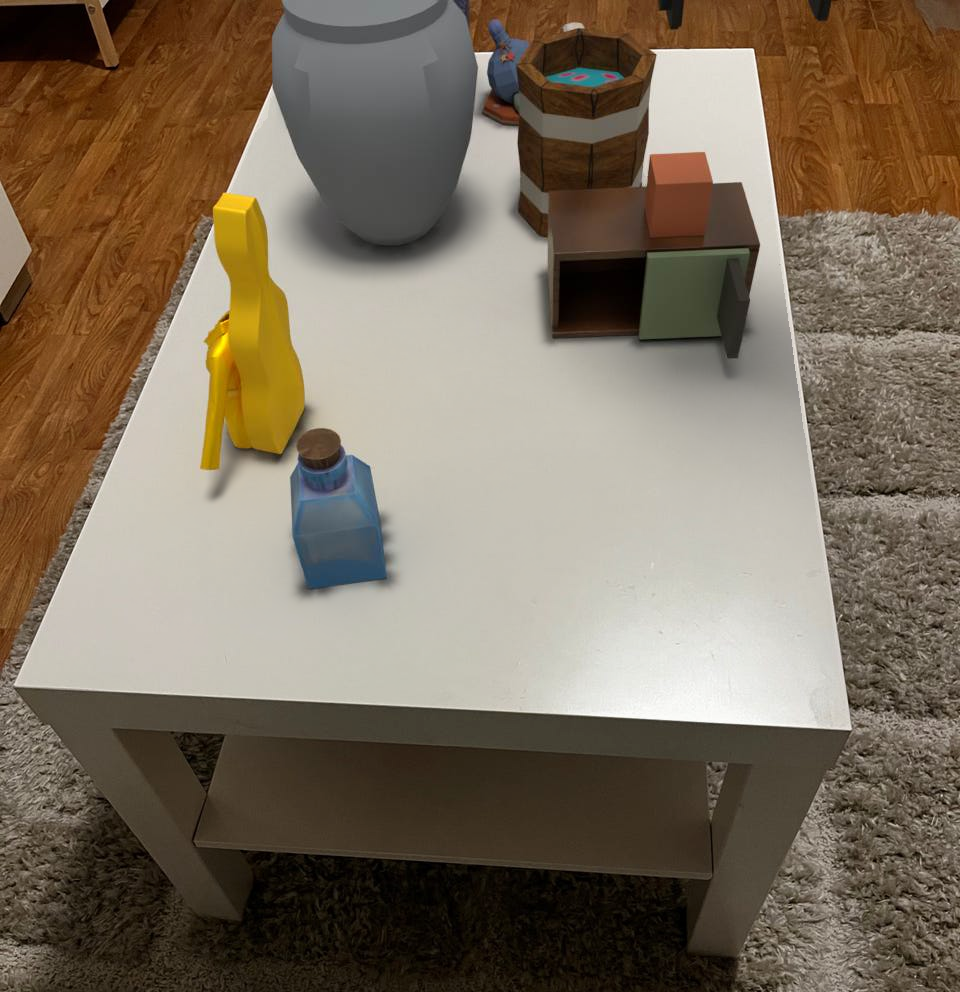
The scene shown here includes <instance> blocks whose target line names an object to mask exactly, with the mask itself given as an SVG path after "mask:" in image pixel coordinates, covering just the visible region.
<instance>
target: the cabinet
mask: <svg viewBox="0 0 960 992" xmlns="http://www.w3.org/2000/svg"><path fill="white" fill-rule="evenodd" d="M646 188H647V186H642V187H625V188H604V189H582V190H561V191H549V192H548V237H547V259H546V260H547V261H546V262H547V263H546V264H547V268H546V269H547V271H546V278H547V288H548V290H547V291H548V301H549V303H548V304H549V315H550V325H551V337H552V339H561V338H562V339H566V338H567V339H568V338H585V337H586V338H588V337H612V336H635V335H637V336H639V325H640V316H641V306H642V297H643V288H644V279H645V269H646V260H647V253H651V252H674V251H696V250H719V249H741V248H748V249H749V252H750V255H749V260H748V265H747V270H746V275H745V283H746V287H747V290H748V294H749V297H750V295H751V291H752V286H753V281H754V276H755V271H756V267H757V262H758V257H759V253H760V248H761V242H760V238H759V235H758V232H757V229H756V225H755V222H754V219H753V216H752V212H751V208H750V205H749V202H748V199H747V195H746V191H745V189H744V186H743V182H742V181H738V182H737V181H736V182H734V181H733V182H715V183H714V182H713V185H712V191H711V198H710V204H709V210H708V217H707V223H706V229H705V235H703V236H681V237H659V238H650V234H649V228H648V223H647V218H646V213H645V198H646Z"/></svg>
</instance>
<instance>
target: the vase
mask: <svg viewBox="0 0 960 992" xmlns="http://www.w3.org/2000/svg"><path fill="white" fill-rule="evenodd" d="M281 5H282V8H283V11H284V12H283V13H282V16H281V17H280V19H279V21H278V23H277V24H276V27H275V28H274V31H273V33H272V35H271V59H272V60H271V62H272V63H271V69H272V70H271V72H272V73H271V76H272V77H271V79H272V80H271V82H272V85H271V87H272V90H273V93H274V96H275V99H276V101H277V105H278V107H279V110H280V113H281V115H282V119H283V122H284V124H285V126H286V129H287V132H288V136H289V137H290V141H291V143H292V145H293V150H294V151H295V153H296V156H297V158H298V160H299V162H300V163H301V166H302V167H303V169H304V170H305V172H306V174H307V176H308V177H309V179H310V181H311V182H312V184H313V186H314V187H315V189H316V191H317V193H318V194H319V196H320V198H321V200H322V201H323V203H325V205H326V206H327V208H329V209H330V210H331V212H332V213H333V214H334V215H335V216H336V217H337V218H338V219H339V220H340V221H341V223H342V224H343V225H344V226H345V227H346V228H347V229H348V230H349V231H351V232H352V233H354V234H355V235H356V236H358V237H359V238H360V239H361V240H363V241H365V242H367V243H371V244H373V245H377V246H378V245H379V246H400V245H406V244H408V243H409V244H410V243H412V242H415V241H417V240H419V239H421V238H422V237H424V236H425V235H427V233H428V232H430V230H431V229H432V228H433V227H434V225H436V223H437V222H438V221H439V220H440V219H441V217H442V215H443V213H444V211H445V209H446V207H447V205H448V204H449V202H450V200H451V198H452V196H453V194H454V192H455V190H456V189H457V186H458V183H459V180H460V176H461V172H462V169H463V166H464V162H465V159H466V155H467V152H468V149H469V145H470V141H471V137H472V132H473V121H474V113H475V112H474V111H475V101H476V94H477V93H476V91H477V83H478V73H479V65H478V61H477V57H476V53H475V49H474V45H473V41H472V37H471V32H470V27H469V28H468V23H467V19H466V16H465V15H464V14H463V12H462V11H461V9H460V8H459V7H458V6H457V5H456V4H455V3H454V1H453V0H281Z"/></svg>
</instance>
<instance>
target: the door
mask: <svg viewBox="0 0 960 992" xmlns="http://www.w3.org/2000/svg"><path fill="white" fill-rule="evenodd" d="M749 255H750V252H749V249H748V248H741V249H719V250H696V251H674V252H651V253H647V260H646V269H645V279H644V288H643V297H642V306H641V316H640V325H639V335H638V340H659V339H661V340H662V339H681V338H684V339H685V338H704V337H707V338H708V337H721V341H722V345H723V348H724V352H725V357H726V359H727V360H730V359H732V360H733V359H739V356H740V355H739V354H740V350H741V346H742V340H743V336H744V332H745V327H746V324H747V323H746V322H747V318H748V313H749V309H750V305H751V299H750V296H749V294H748V290H747V287H746V283H745V275H746V270H747V265H748V260H749Z"/></svg>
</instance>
